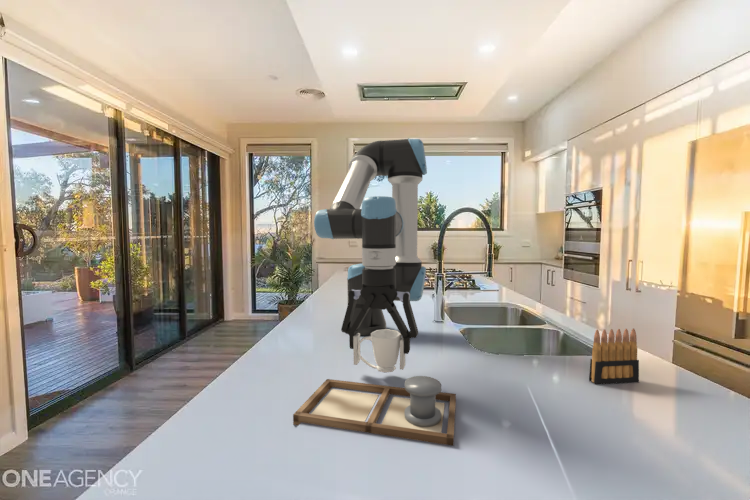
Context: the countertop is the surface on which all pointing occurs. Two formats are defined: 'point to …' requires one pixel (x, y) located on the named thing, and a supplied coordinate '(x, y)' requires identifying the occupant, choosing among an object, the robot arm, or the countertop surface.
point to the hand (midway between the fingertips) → (379, 364)
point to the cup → (384, 349)
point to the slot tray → (356, 406)
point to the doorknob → (422, 401)
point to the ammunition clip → (614, 358)
